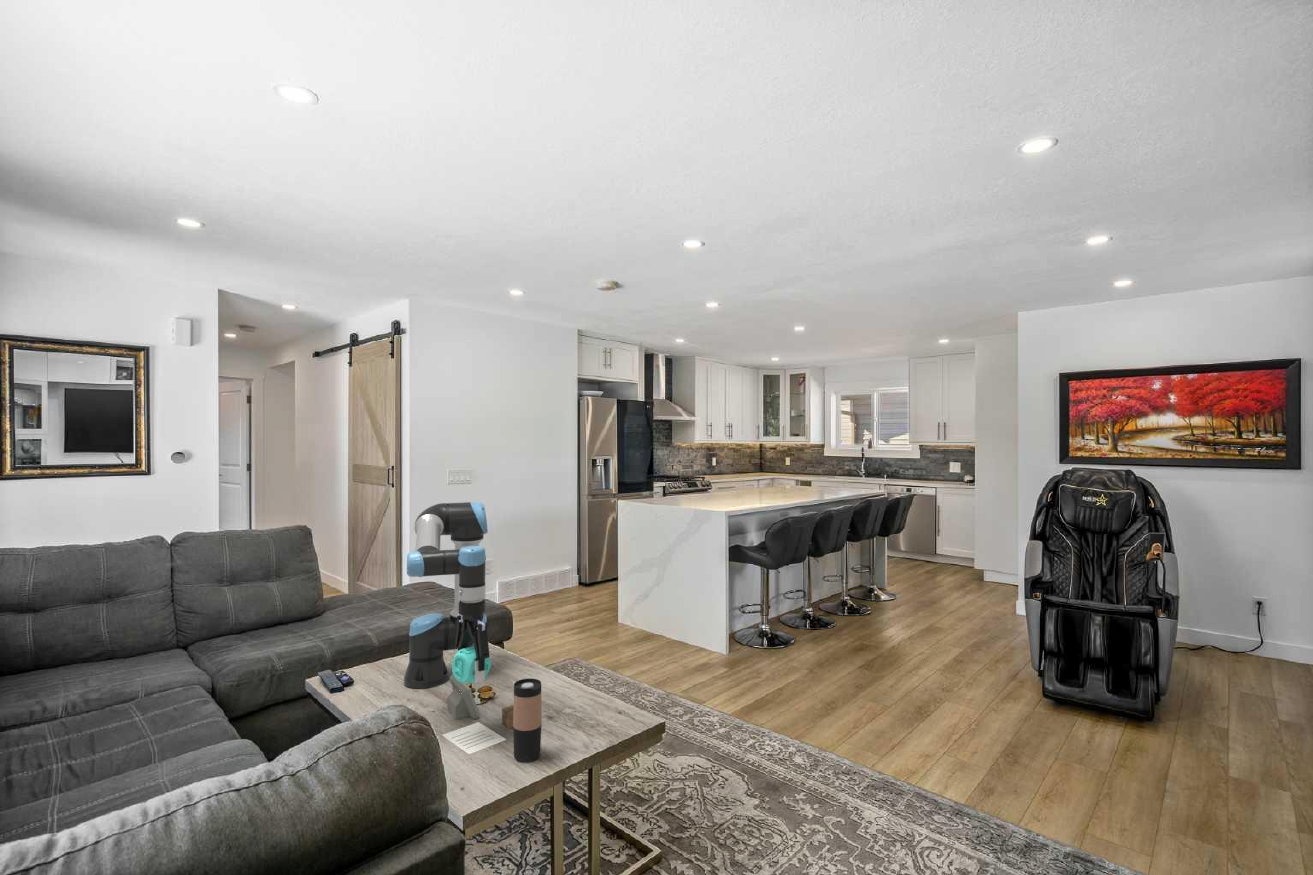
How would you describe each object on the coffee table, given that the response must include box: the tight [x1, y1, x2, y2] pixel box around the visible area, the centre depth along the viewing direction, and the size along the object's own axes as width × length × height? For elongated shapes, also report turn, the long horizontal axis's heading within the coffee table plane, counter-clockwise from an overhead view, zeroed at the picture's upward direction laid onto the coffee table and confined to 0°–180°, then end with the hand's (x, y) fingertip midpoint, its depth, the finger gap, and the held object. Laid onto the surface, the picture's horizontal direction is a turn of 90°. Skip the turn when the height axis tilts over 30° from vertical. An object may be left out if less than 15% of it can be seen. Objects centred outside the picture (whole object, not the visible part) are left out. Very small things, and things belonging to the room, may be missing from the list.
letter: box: [441, 722, 507, 755], centre depth 180 cm, size 16×12×1 cm
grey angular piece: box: [446, 673, 481, 721], centre depth 197 cm, size 16×9×11 cm, turn 23°
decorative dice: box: [451, 647, 492, 684], centre depth 180 cm, size 8×8×8 cm
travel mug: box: [512, 678, 542, 763], centre depth 170 cm, size 8×8×20 cm
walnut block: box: [501, 704, 514, 730], centre depth 189 cm, size 5×5×5 cm
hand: (471, 677), depth 180 cm, fingers closed on decorative dice, 9 cm apart
